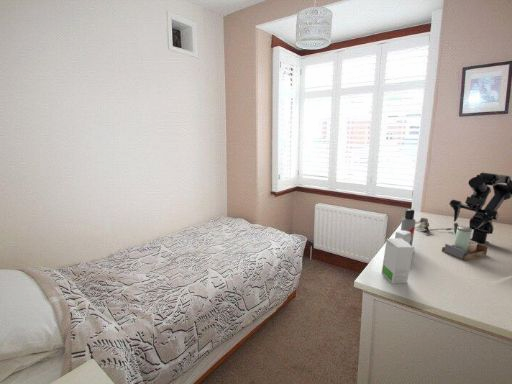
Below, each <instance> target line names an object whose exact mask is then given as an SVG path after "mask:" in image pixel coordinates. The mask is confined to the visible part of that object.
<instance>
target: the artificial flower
mask: <svg viewBox="0 0 512 384" xmlns="http://www.w3.org/2000/svg"><path fill="white" fill-rule="evenodd" d="M457 226H459V224H458V222H454V223H453V228H449V227H447V228H435V229H434V228H433V229H429V227H430V223H429V219H428V218H425V217H421V218H420V220H415V228H414V232H424V231H437V230H445V231H451V230H453V231H454V233H455V234H456V231H457Z"/></svg>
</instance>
